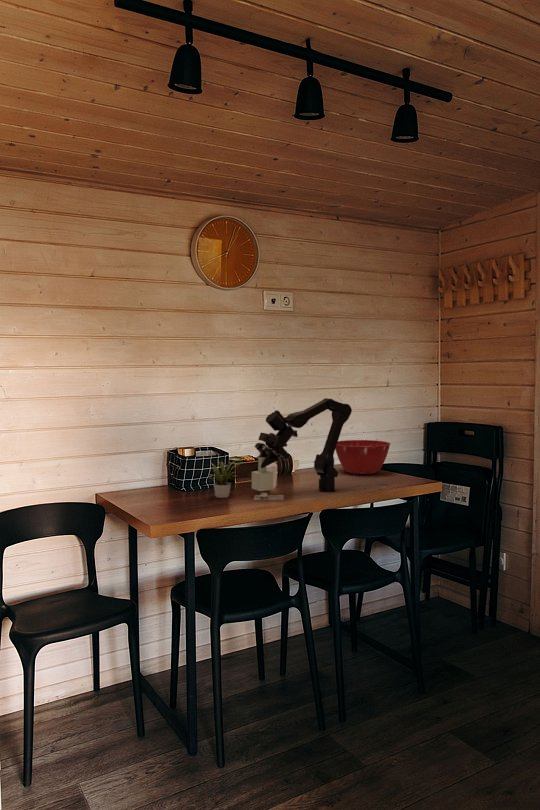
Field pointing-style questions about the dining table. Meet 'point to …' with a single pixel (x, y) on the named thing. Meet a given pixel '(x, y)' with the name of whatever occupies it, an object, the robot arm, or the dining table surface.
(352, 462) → the mixing bowl
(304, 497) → the dining table surface
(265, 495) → the tea light
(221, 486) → the house plant
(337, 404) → the robot arm
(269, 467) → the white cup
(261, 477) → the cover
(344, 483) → the dining table surface
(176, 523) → the dining table surface
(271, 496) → the slate mat
